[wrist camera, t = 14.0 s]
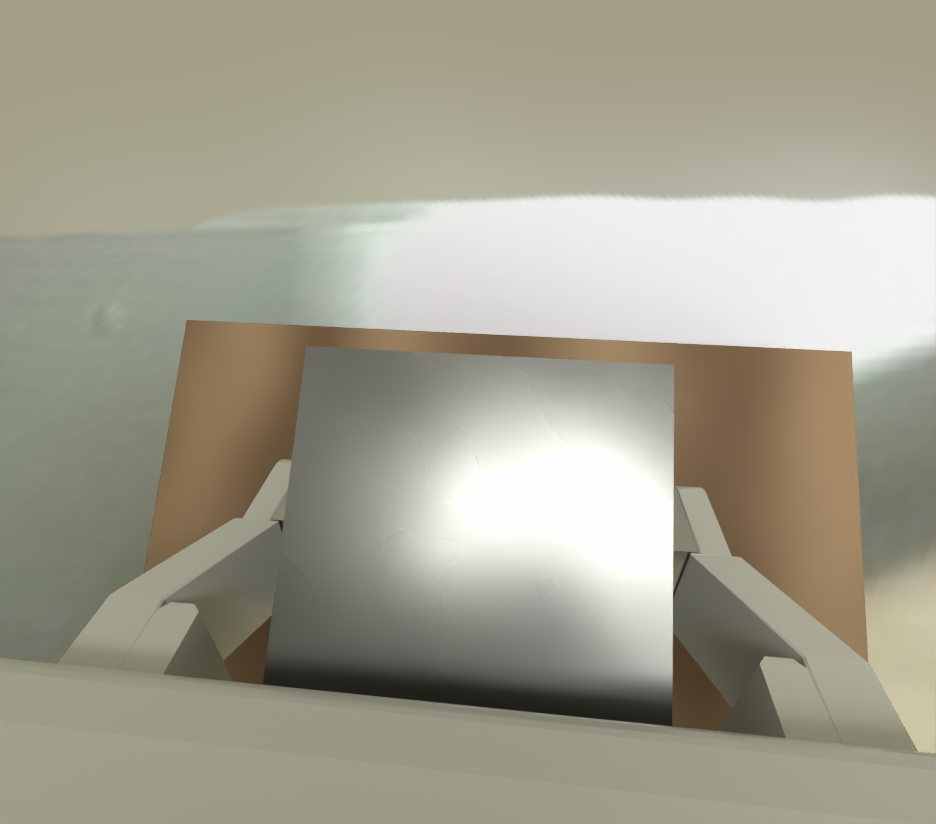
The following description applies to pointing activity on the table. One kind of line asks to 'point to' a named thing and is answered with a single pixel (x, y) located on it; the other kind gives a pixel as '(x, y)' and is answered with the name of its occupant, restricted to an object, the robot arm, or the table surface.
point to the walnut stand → (695, 366)
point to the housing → (480, 533)
